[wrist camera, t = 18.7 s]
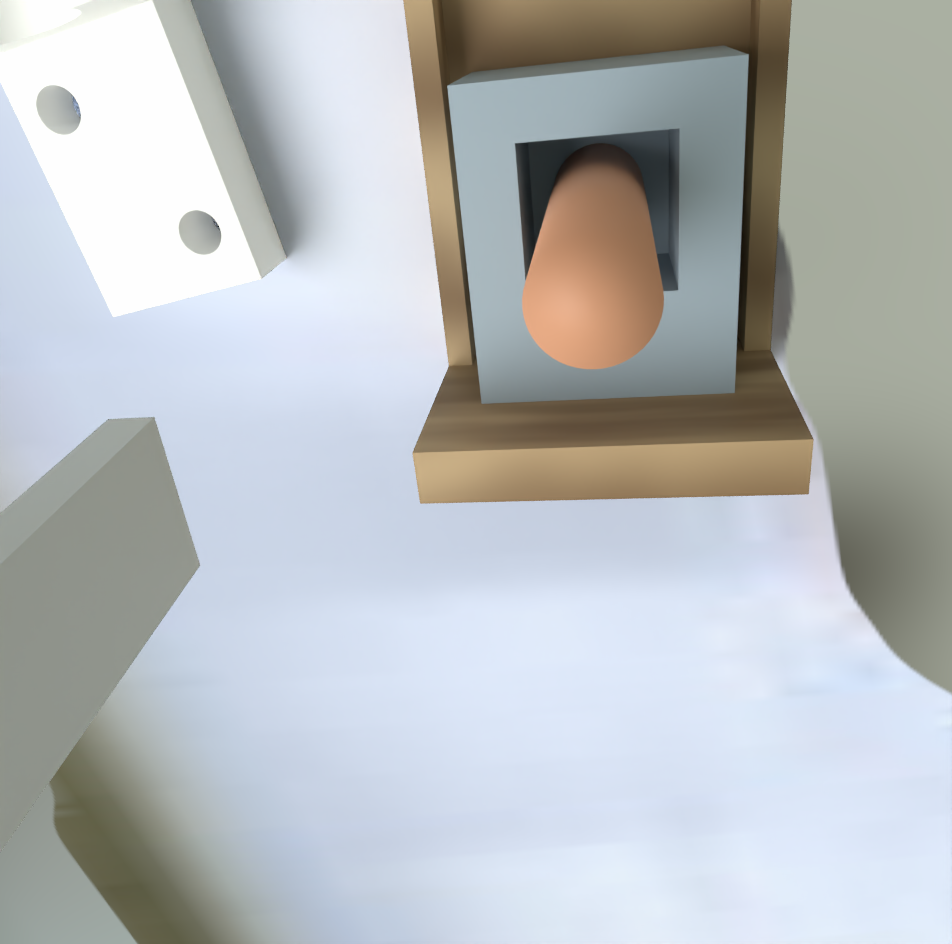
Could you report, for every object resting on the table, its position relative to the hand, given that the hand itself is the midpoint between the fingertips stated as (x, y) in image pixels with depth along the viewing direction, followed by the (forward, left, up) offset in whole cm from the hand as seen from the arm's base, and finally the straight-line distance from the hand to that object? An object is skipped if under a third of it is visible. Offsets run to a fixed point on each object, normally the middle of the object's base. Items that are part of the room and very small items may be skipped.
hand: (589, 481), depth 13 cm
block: (+1, 0, -24) cm, 24 cm away
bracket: (-3, -18, -26) cm, 32 cm away
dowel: (0, 0, -23) cm, 23 cm away
